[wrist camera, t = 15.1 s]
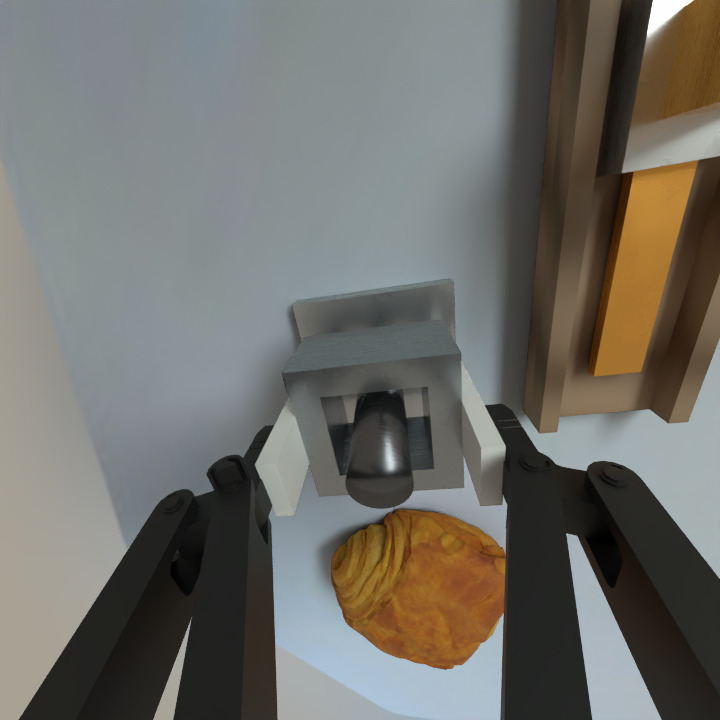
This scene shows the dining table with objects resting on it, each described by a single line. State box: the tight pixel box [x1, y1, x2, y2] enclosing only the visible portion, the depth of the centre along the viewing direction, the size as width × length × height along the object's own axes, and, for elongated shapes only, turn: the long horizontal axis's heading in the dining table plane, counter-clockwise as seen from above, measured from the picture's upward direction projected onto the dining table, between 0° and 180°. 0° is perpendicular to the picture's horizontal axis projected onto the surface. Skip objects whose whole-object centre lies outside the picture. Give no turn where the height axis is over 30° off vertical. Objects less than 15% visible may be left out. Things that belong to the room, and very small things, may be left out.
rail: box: [523, 0, 720, 433], centre depth 14 cm, size 24×8×2 cm, turn 9°
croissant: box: [331, 509, 506, 670], centre depth 26 cm, size 14×16×8 cm
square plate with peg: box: [292, 279, 456, 509], centre depth 15 cm, size 9×9×10 cm
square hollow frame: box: [281, 319, 464, 496], centre depth 15 cm, size 7×7×4 cm
